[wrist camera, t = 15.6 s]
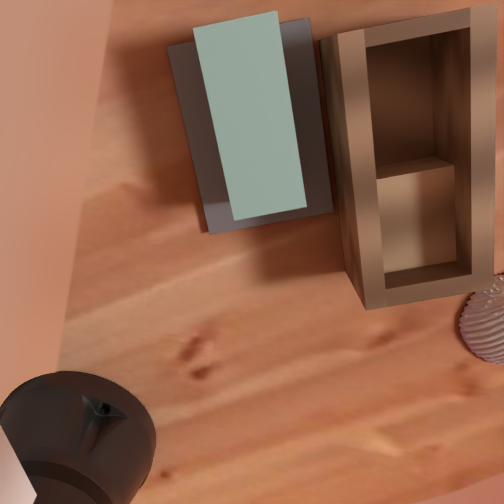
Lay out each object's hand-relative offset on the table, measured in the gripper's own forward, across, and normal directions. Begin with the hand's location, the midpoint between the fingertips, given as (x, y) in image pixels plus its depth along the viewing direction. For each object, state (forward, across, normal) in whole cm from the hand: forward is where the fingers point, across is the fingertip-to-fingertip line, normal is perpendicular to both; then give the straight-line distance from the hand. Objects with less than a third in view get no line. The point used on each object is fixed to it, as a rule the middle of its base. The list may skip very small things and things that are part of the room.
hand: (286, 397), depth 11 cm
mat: (+27, +1, +2) cm, 27 cm away
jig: (+27, +11, -2) cm, 29 cm away
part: (+26, +1, +4) cm, 27 cm away
